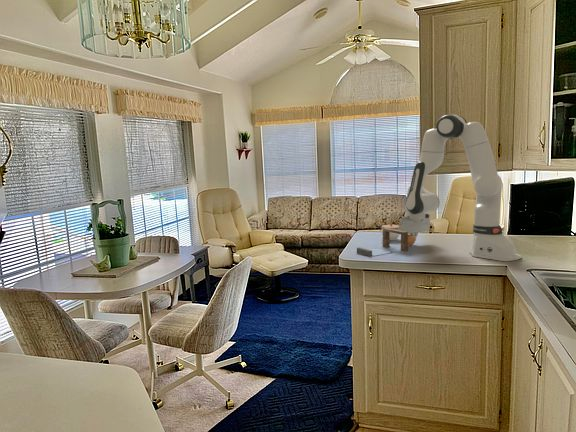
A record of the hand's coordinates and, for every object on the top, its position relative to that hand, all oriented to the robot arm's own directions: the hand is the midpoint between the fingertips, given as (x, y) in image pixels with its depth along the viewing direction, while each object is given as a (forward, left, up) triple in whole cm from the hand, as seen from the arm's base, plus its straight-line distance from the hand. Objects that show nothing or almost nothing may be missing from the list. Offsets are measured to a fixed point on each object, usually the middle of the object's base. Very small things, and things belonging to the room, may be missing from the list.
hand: (413, 240), depth 235 cm
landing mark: (-1, +29, -2) cm, 29 cm away
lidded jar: (+17, 0, -2) cm, 17 cm away
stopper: (-1, +36, -2) cm, 36 cm away
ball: (0, +4, +1) cm, 4 cm away
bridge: (-1, +15, -2) cm, 15 cm away
